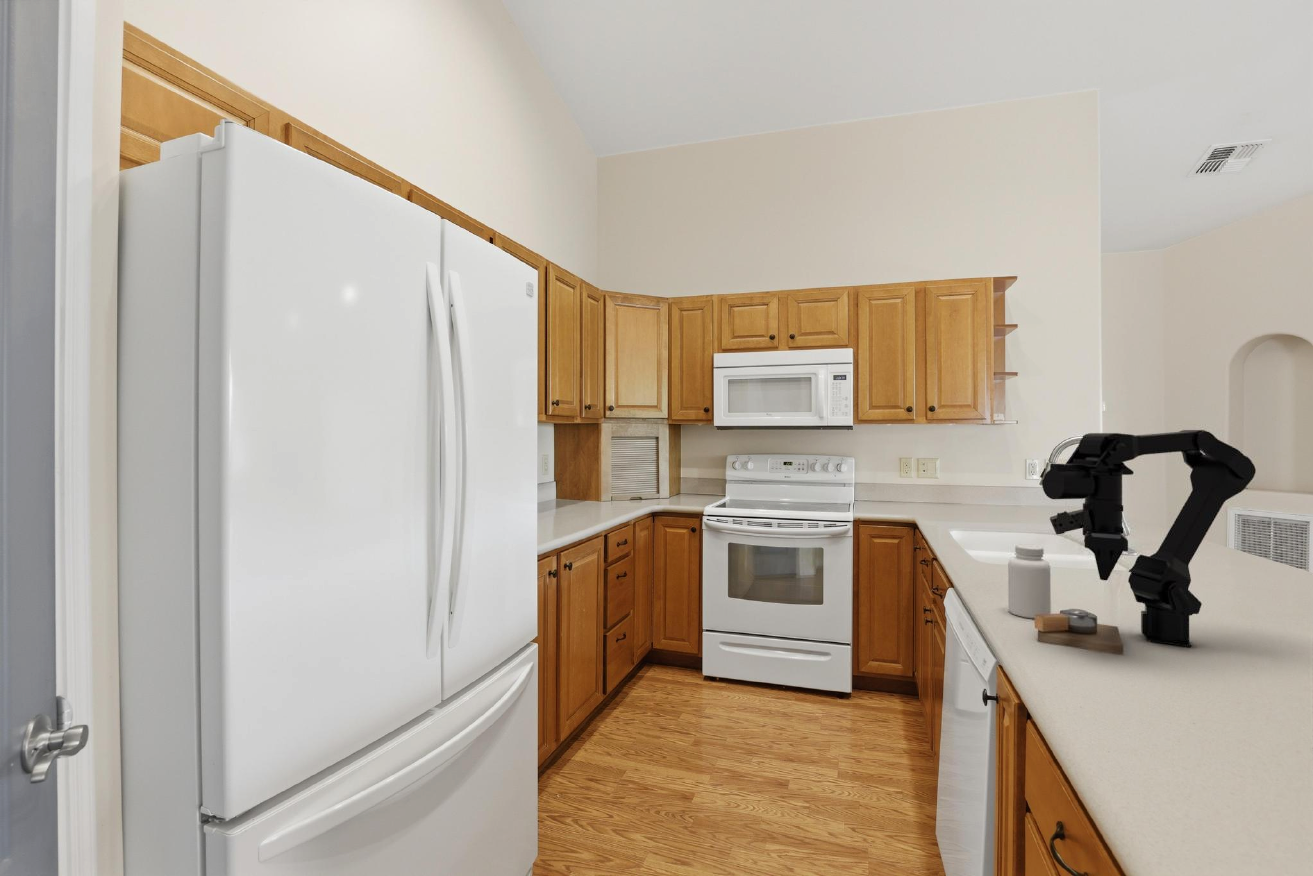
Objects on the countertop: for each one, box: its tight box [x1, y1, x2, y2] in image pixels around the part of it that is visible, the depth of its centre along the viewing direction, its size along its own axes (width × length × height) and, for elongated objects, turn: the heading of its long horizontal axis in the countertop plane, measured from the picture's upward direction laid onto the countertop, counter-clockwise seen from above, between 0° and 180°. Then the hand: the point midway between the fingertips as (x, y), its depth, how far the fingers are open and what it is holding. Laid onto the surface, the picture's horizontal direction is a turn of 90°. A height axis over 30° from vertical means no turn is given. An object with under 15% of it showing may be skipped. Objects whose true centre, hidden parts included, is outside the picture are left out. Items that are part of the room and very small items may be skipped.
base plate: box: [1037, 623, 1124, 656], centre depth 116 cm, size 13×13×2 cm
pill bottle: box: [1007, 544, 1052, 619], centre depth 131 cm, size 8×8×15 cm
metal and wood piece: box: [1034, 608, 1098, 634], centre depth 115 cm, size 12×6×3 cm, turn 97°
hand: (1103, 579), depth 113 cm, fingers closed
